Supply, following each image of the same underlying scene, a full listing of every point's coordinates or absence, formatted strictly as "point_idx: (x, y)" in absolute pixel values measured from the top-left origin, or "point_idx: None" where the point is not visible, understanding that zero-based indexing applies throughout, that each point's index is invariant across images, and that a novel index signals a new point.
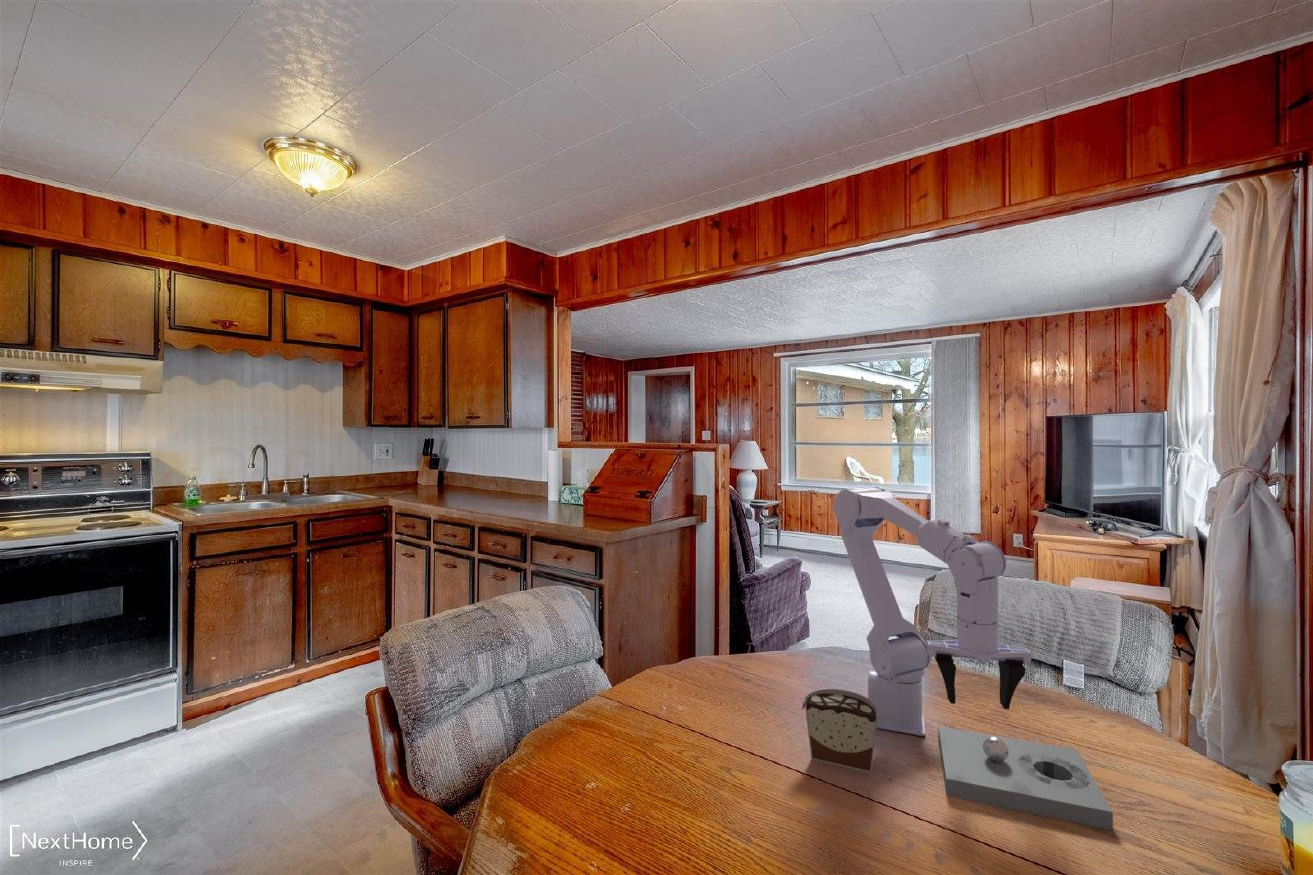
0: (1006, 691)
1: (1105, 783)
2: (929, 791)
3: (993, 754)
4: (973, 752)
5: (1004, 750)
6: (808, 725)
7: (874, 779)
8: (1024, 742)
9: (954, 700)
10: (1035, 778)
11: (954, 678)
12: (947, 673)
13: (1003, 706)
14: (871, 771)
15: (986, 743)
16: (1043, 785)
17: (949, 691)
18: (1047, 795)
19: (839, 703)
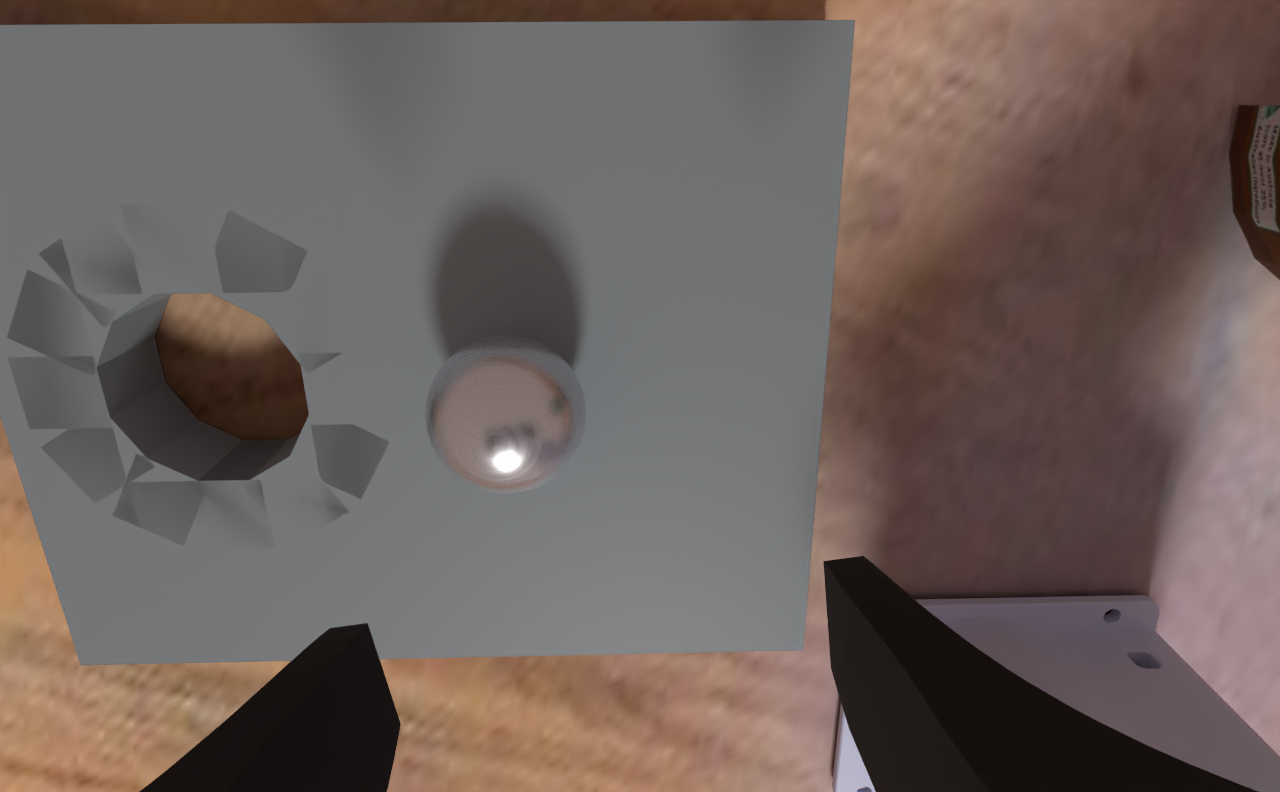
0: (264, 756)
1: (9, 494)
2: (919, 35)
3: (526, 340)
4: (637, 426)
5: (450, 371)
6: None
7: (1236, 37)
8: None
9: (843, 571)
10: (302, 256)
11: (959, 744)
12: (1129, 778)
13: (370, 653)
14: (1247, 105)
15: (562, 399)
16: (260, 190)
17: (935, 617)
18: (240, 73)
19: None
